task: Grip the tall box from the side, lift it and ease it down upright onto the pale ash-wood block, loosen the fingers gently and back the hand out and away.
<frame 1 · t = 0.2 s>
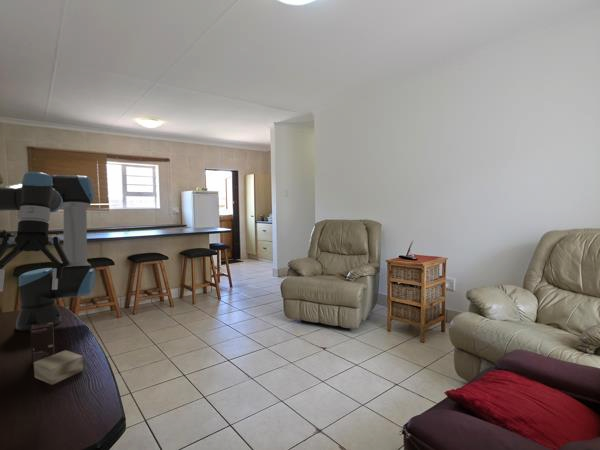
hand: (27, 290, 101), 26 cm above the table, tool tilted 15°, fingers open, 13 cm apart
box: (44, 360, 112), on the table
ash block: (59, 374, 103), on the table
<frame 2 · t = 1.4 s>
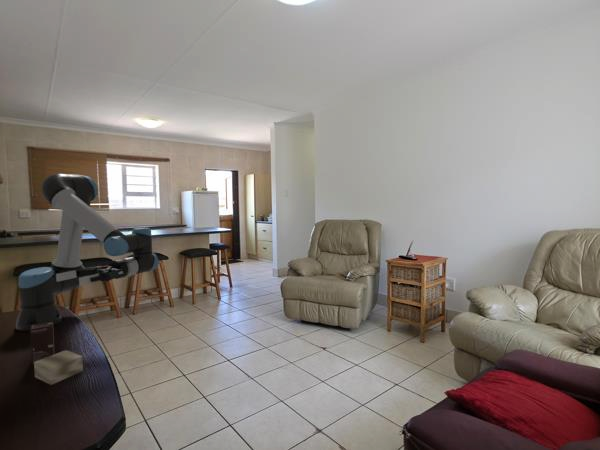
hand: (68, 279, 118), 25 cm above the table, tool horizontal, fingers open, 13 cm apart
nothing on the table moved.
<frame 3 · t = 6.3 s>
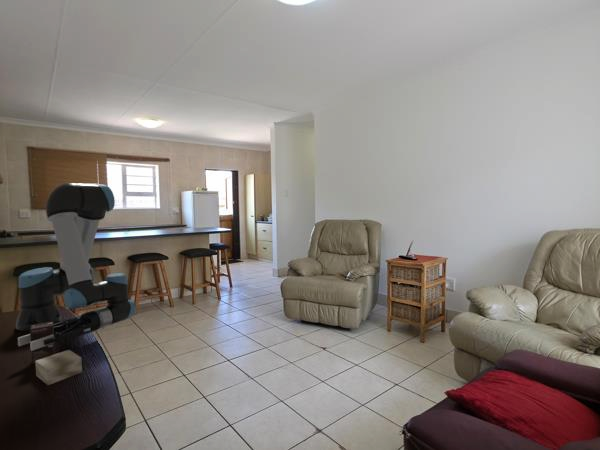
hand: (24, 344, 107), 8 cm above the table, tool horizontal, fingers closed on box, 6 cm apart
box: (44, 360, 112), on the table, touching gripper
everything else where it was.
when the fingers open (13 cm above the table, at t = 12.5 s): box drops 1 cm, resting on ash block.
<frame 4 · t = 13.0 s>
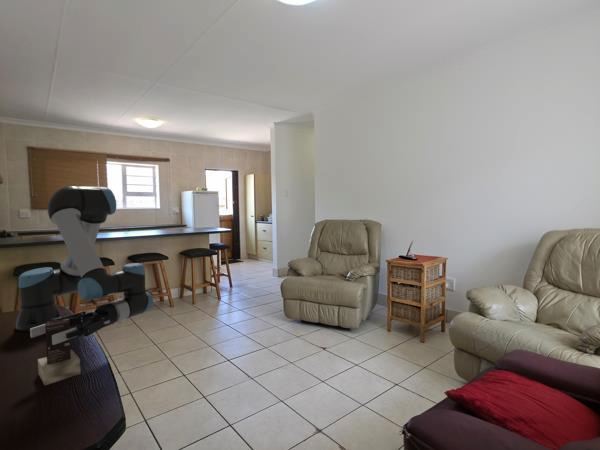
hand: (41, 336, 98), 13 cm above the table, tool horizontal, fingers open, 10 cm apart
box: (59, 360, 103), point 4 cm above the table, touching ash block
ash block: (59, 374, 103), on the table, touching box
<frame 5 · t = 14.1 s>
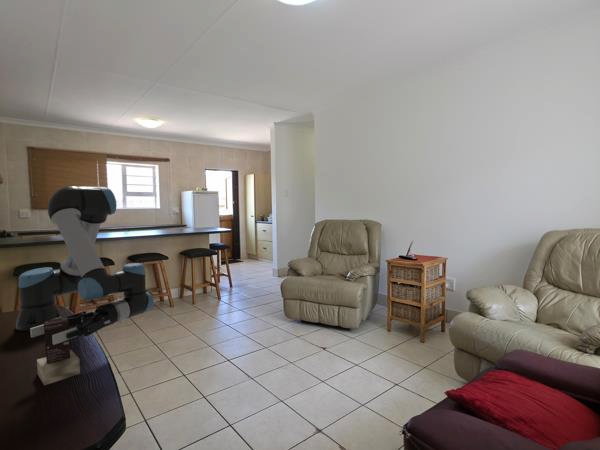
hand: (41, 336, 98), 14 cm above the table, tool horizontal, fingers open, 10 cm apart
nothing on the table moved.
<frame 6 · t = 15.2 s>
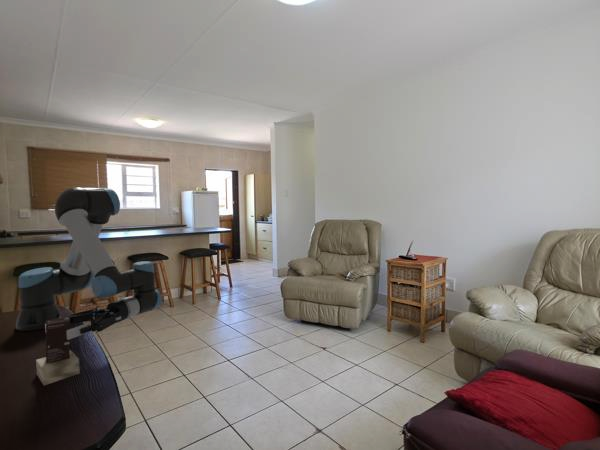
hand: (56, 331, 102), 14 cm above the table, tool horizontal, fingers open, 10 cm apart
nothing on the table moved.
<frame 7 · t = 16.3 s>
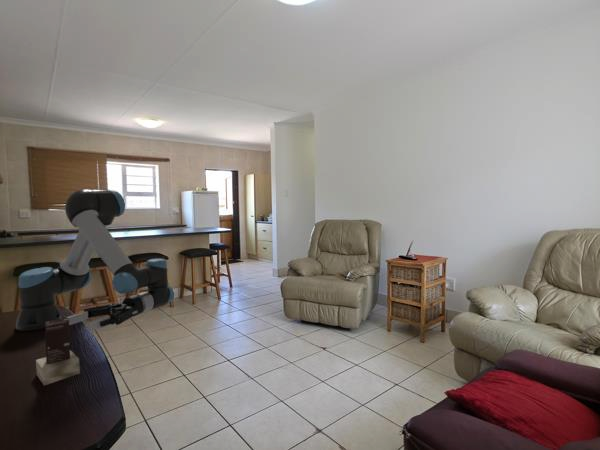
hand: (77, 324, 108), 14 cm above the table, tool horizontal, fingers open, 10 cm apart
nothing on the table moved.
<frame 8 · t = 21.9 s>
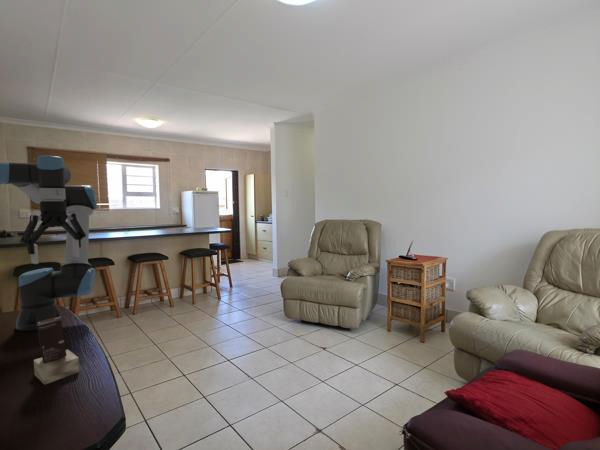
hand: (56, 260, 120), 32 cm above the table, tool pointing down, fingers open, 13 cm apart
box: (55, 358, 103), point 5 cm above the table
ash block: (57, 374, 104), on the table
at the end: box 0.4 cm off-centre on the ash block, point 5.0 cm above the ash block's base; box tilted 4°; the gripper is holding nothing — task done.
